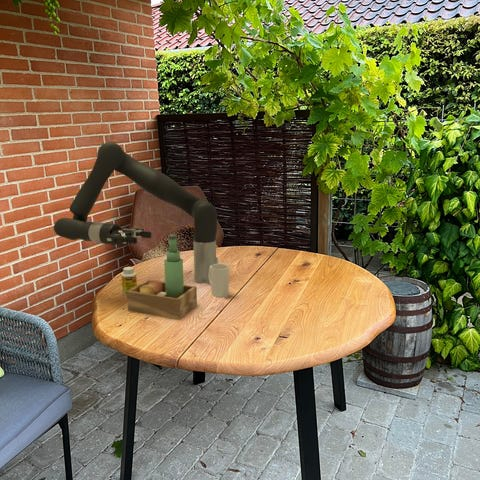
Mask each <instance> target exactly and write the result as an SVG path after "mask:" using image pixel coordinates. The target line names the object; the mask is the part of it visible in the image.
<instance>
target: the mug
mask: <svg viewBox="0 0 480 480" xmlns="http://www.w3.org/2000/svg"><path fill="white" fill-rule="evenodd" d="M229 267H230V266H229V265H228V264H226V263H218V264H213V265H211V266H210V268H209V273H208V276H209V282H210V283H209V286H210V287H211V295H212V296H213V297H215V298H224V299H227V298H228V297H229V278H230V277H229V276H230V275H229V274H230V273H229V272H230V269H229Z"/></svg>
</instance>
